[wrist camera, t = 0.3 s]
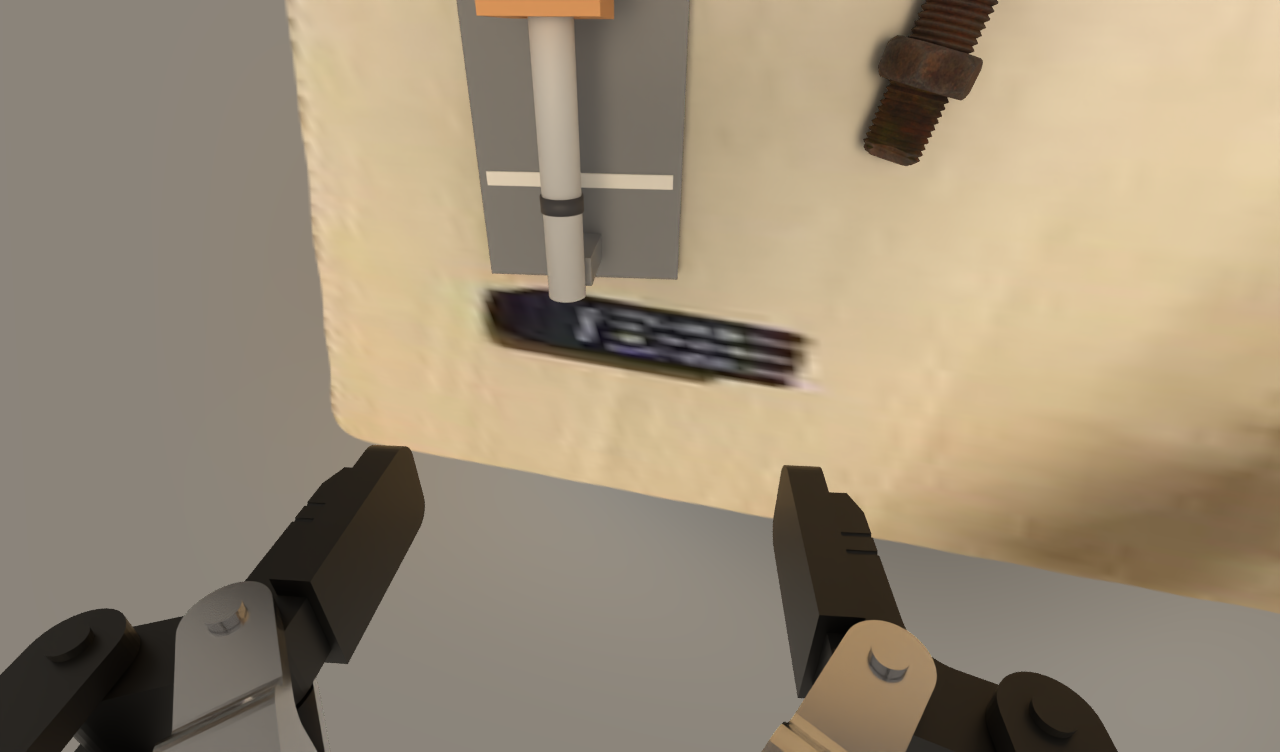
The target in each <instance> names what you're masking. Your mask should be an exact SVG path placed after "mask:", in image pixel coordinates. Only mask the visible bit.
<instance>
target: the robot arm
mask: <svg viewBox="0 0 1280 752" xmlns="http://www.w3.org/2000/svg"><path fill="white" fill-rule="evenodd" d="M424 511H425V501H424V496H423V492H422V488H421V485H420V480H419V477H418V473H417V469H416V465H415V462H414V458H413V454H412V452H411V450H410V449H409V448H408V447H406V446H385V445H372V446H370V447H368V448H367V449H366V450H365V452H364V453H363V454H362V456H361V457H360V458H359V460H358V461H357V462H356V464H355V465H354V466H353V468H347V467H344V468H343V469H342V470H340V471H339V472H338V473H336V474H335V475H333V476H332V477H331V478H329V479H328V480H327V481H325V482H324V483H322V485H321V486H320V487H319V488H318V490H317V491H316V492H315V493H314V495H313V496H312V497H311V498H310V500H309V501H308V504H307V506H304V507H303V508H302V510H301V511H300V512H299V513H298V515H297V516H296V517H295V522H291V524H290V525H289V526H288V528H287V529H286V530H285V531H284V532H283V534H282V535H281V536H280V537H279V539H278V540H277V541H276V543H275V544H274V545H273V546H272V548H271V549H270V550H269V552H268V553H267V554H266V555H265V556H264V558H263V559H262V560H261V561H260V563H259V564H258V565H257V567H256V568H255V569H254V570H253V572H252V573H251V574H250V575H249V577H248V578H247V579H246V580H245V581H244V582H238V583H233V584H230V585H227V586H224V587H222V588H219V589H217V590H215V591H214V592H212V593H210V594H208V595H207V596H205V597H204V598H202V599H201V600H199V601H198V602H197V603H196V604H195V605H193V607H192V608H191V609H189V610H188V612H187V613H186V614H185V615H184V616H182V617H177V618H172V619H168V620H163V621H158V622H153V623H149V624H144V625H139V626H134V627H132V626H131V624H130V623H129V622H128V620H127V619H126V617H125V616H124V615H123V613H121V612H120V611H118V610H114V609H107V608H106V609H96V610H91V611H87V612H84V613H81V614H78V615H76V616H73V617H71V618H69V619H67V620H65V621H62V622H61V623H59V624H57V625H55V626H54V627H52V628H51V629H49V630H48V631H46V632H45V633H44V634H42V635H41V636H40V637H39V638H37V639H36V640H35V641H34V642H33V643H32V644H31V645H29V646H28V648H27V649H25V651H24V652H23V653H21V655H20V656H19V657H18V658H17V659H16V660H15V661H14V662H13V663H12V664H11V665H10V666H9V667H8V668H7V669H6V670H5V671H4V672H3V673H2V674H1V675H0V752H61V751H62V750H63V748H64V747H65V746H66V745H67V743H68V742H69V741H70V740H71V738H72V737H74V738H75V739H76V740H77V741H78V742H79V743H80V745H79V747H78V748H77V749H76V750H75V752H331V751H330V746H329V740H328V735H327V729H326V724H325V719H324V713H323V707H322V702H321V696H320V691H319V686H318V682H317V680H316V676H317V674H318V673H319V671H320V669H321V667H322V666H323V664H324V662H327V663H341V664H348V662H349V660H350V659H351V657H352V655H353V653H354V651H355V649H356V647H357V645H358V644H359V641H360V640H361V638H362V636H363V634H364V632H365V630H366V628H367V626H368V625H369V623H370V621H371V619H372V617H373V615H374V613H375V611H376V610H377V608H378V606H379V604H380V602H381V600H382V598H383V596H384V594H385V592H386V591H387V588H388V587H389V585H390V583H391V581H392V579H393V577H394V576H395V574H396V572H397V570H398V568H399V566H400V564H401V562H402V560H403V559H404V557H405V555H406V553H407V551H408V549H409V547H410V545H411V544H412V542H413V540H414V538H415V536H416V534H417V532H418V530H419V528H420V526H421V524H422V520H423V517H424ZM773 546H774V552H775V559H776V565H777V572H778V578H779V584H780V590H781V595H782V603H783V608H784V614H785V621H786V627H787V634H788V640H789V645H790V652H791V658H792V665H793V671H794V677H795V683H796V689H797V695H798V698H805V699H804V700H803V702H802V704H801V705H800V707H799V708H798V710H797V711H796V713H795V715H794V716H793V717H792V719H791V720H790V721H789V722H788V723H786V722H783V723H782V724H781V725H780V726H779V727H778V728H777V730H776V731H775V732H774V734H773V735H772V737H771V738H770V740H769V741H768V743H767V744H766V746H765V748H764V749H763V750H762V752H1118V751H1117V749H1116V748H1115V746H1114V744H1113V742H1112V740H1111V738H1110V736H1109V734H1108V733H1107V731H1106V729H1105V727H1104V725H1103V723H1102V722H1101V720H1100V719H1099V717H1098V715H1097V714H1096V713H1095V711H1094V710H1093V709H1092V708H1091V707H1090V706H1089V704H1088V703H1087V702H1086V701H1085V700H1084V699H1082V698H1081V697H1080V696H1079V695H1078V694H1077V693H1075V692H1074V691H1073V690H1071V689H1070V688H1068V687H1067V686H1065V685H1064V684H1062V683H1060V682H1058V681H1057V680H1054V679H1052V678H1050V677H1047V676H1044V675H1041V674H1038V673H1033V672H1016V673H1013V674H1010V675H1008V676H1006V677H1005V678H1004V679H1003V680H1002V681H1001V682H1000V684H999V685H997V684H994V683H992V682H989V681H986V680H983V679H981V678H978V677H975V676H972V675H969V674H966V673H963V672H961V671H958V670H955V669H953V668H951V667H948V666H946V665H944V664H942V663H941V662H939V661H937V660H936V659H934V658H933V657H931V655H930V653H929V652H928V650H927V649H926V647H925V646H924V645H923V644H922V643H921V642H920V641H919V640H918V639H917V638H916V637H915V636H914V635H912V634H911V633H909V632H908V631H907V630H906V628H905V626H904V624H903V621H902V619H901V616H900V613H899V610H898V607H897V605H896V602H895V599H894V597H893V594H892V591H891V588H890V585H889V582H888V579H887V576H886V574H885V571H884V568H883V565H882V562H881V560H880V557H879V556H878V555H877V548H876V546H875V543H874V540H873V538H871V532H870V529H869V526H868V523H867V520H866V517H865V515H864V512H863V511H862V510H861V509H860V508H859V506H858V505H857V504H856V503H855V502H854V501H853V500H852V499H851V498H850V496H849V495H848V494H847V493H831V492H829V491H828V488H827V484H826V481H825V478H824V474H823V471H822V469H821V468H820V467H812V466H790V465H784V466H783V468H782V471H781V476H780V482H779V488H778V494H777V500H776V506H775V512H774V518H773Z"/></svg>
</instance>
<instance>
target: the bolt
mask: <svg viewBox="0 0 1280 752" xmlns="http://www.w3.org/2000/svg"><path fill="white" fill-rule="evenodd" d="M926 2H927V3H925V4H923V5H921V7H922V9H923V11H922V12H920V13H918V15H919V17H920V19H918V20H916V21H915V24H916V26H917V27H915V28H913V29H911V30H912V32H913V34H912V35H910V36H908V37H904V36H898V35H897V36H896V37H894V38H893V39H891V40H890V41H889V42H888V44H887V47H886V49H885V51H884V54H883V56H882V59H881V61H880V63H879V66H878V68H879V74H880V76H881V77H884V78H887V79H890V80H889V81H890V83H891V85H889V86H887V87H886V88H887V90H888V92H886V93H884V96H885V98H884V99H882V100H880V101H881V102H882V105H880V106H878V109H879V110H880V111H879V112H877V113H875V115H876V117H877V118H875V119H873V120H872V122H873V124H874V125H872V126H870V127H869V129H870V130H871V131H870V132H867V133H866V134H867V136H868V138H865V139H863V140H864V142H865V145H864V148H865V150H866V151H868V152H869V153H870V154H871V155H874V156H877V157H880V158H882V159H885V160H888V161H891V162H894V163H897V164H900V165H904V166H908V165H912V164H915V163H917V162H919V161H920V160H919V159H918V157H920V156H922V155H923V154H922V152H921V151H923V150H925V147H924V144H928V143H929V142H928V139H927V138H929V137H932V135H931V132H930V131H934V130H935V128H934V125H935V124H938V123H939V122H938V120H937V118H939V117H942V115H941V112H940V111H942V110H945V107H944V104H946V103H948V102H949V101H948V99H947V97H950V98H953V99H957V100H963V99H964V98H966V96H967V95H968V94H969V93H970V91H971V89H972V87H973V85H974V83H975V81H976V79H977V77H978V75H979V73H980V71H981V68H982V64H983V60H982V59H981V58H978V57H975V56H972V55H969V53H971V52H974V49H973V47H972V46H974V45H976V44H978V42H977V40H976V38H978V37H980V36H982V35H981V32H980V30H982V29H984V28H986V27H985V25H984V22H986V21H989V20H990V18H989V16H988V14H990V13H993V12H994V10H993V8H992V6H994V5H996V4H998V1H997V0H926Z"/></svg>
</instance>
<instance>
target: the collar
mask: <svg viewBox="0 0 1280 752" xmlns="http://www.w3.org/2000/svg"><path fill="white" fill-rule="evenodd" d="M475 6H476V15H477V16H488V17H499V18H512V19H528V17H574V19H614V0H475Z"/></svg>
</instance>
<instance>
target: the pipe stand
mask: <svg viewBox="0 0 1280 752" xmlns="http://www.w3.org/2000/svg"><path fill="white" fill-rule="evenodd" d="M457 7H458V15H459V23H460V30H461V38H462V46H463V53H464V61H465V69H466V77H467V84H468V92H469V100H470V107H471V115H472V123H473V131H474V138H475V146H476V154H477V161H478V169H479V177H480V184H481V192H482V200H483V208H484V215H485V223H486V231H487V238H488V246H489V254H490V261H491V269H492V273H496V274H526V275H548V285H549V297H550V298H551V299H552V300H554V301H557V302H575V301H579V300H581V299H583V298H584V297H585V296H586V286H592V284H593V281H594V278H595V277H617V278H647V279H677V278H678V254H679V231H680V208H681V185H682V162H683V138H684V115H685V92H686V69H687V45H688V22H689V0H614V19H574V17H528V19H512V18H499V17H488V16H477V15H476V6H475V0H457ZM585 285H586V286H585Z"/></svg>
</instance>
